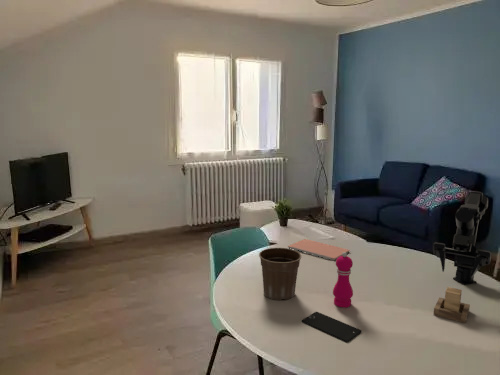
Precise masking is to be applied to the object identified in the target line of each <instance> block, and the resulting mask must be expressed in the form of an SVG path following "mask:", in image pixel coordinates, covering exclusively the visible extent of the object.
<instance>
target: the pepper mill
mask: <svg viewBox="0 0 500 375" xmlns="http://www.w3.org/2000/svg"><path fill="white" fill-rule="evenodd" d="M335 266H336V267H337V268H336V273H337V280H336V283H335V285H334V287H333V289H332V294H333V296H334V298H333V304H334V305H335V306H337V307H338V308H349V307H351V306H352V298H353V296H354V291H353V287H352V285H351V281H350V275H351V274H352V272H351V271H352V270H351V268H353V260H352V258H351V257H349V256H348V253H346V252H343V253H342V256H340V257H338V258H337V259H336V261H335Z"/></svg>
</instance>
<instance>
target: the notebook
mask: <svg viewBox="0 0 500 375" xmlns="http://www.w3.org/2000/svg"><path fill="white" fill-rule="evenodd" d="M287 248H291V249H294V250H296V251H297V252H299V251H302V252H303V253H302V252H301V253H302V254H307V253H308V254H313V255H312V256H313V257H315V256H316V257H318V256H319V257H320V259H323V258H324V260H327V261H332V260H334V261H335V260H337V258H338V257H340V256H342V253H343V252H346V253H347V254H348V253H349V252H350V249H349V248H344V247H339V246H335V245H331V244H327V243H323V242H318V241H315V240H312V239H306V238H303V239H301V240H299V241H297V242H294V243H292V244H289V245H287ZM298 250H299V251H298ZM304 252H306V253H304ZM308 254H307V255H308ZM319 257H318V258H319ZM321 257H323V258H321ZM325 258H326V259H325ZM329 259H330V260H329Z"/></svg>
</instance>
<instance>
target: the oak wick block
mask: <svg viewBox="0 0 500 375" xmlns="http://www.w3.org/2000/svg"><path fill="white" fill-rule="evenodd" d="M462 291H463V290H462V289H459V288H454V287H450V286H447V288H446V289H445V296H444V299H445V303H444V307H443V309H447V310H451V311H455V312H459V313H461V311H460V302H461V300H462V299H461V298H462ZM461 303H462V302H461Z"/></svg>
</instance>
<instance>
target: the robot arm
mask: <svg viewBox="0 0 500 375" xmlns="http://www.w3.org/2000/svg"><path fill="white" fill-rule="evenodd" d="M488 207H489V198H488V196H486V195H484V194H483V192H481V191H475V190H474V191H473V190H472V191H469V192H468V194H466V195H465V199H464V204H462V205H460V207H459V208H457V210H456V213H455V216H454V217H455V223H456V224H455V225H456V227H457V228H456V233H455V234H454V235H453V240H452V247H447V246H446V243H443V242H437V241H435V242H434V243H433V244H432V253H433V255H434V256H436V258H439V261H440V263H441V264H440V265H441V271H442V273H443V272H445V267H446V253H447V254H450V255H451V254H452V255H454V259H453V260H454V261H453V267H456V270H455V276H454V277H452V279H453V280H455V281H457V282H458V283H461V284H463V285H471V284H477V280H474V278H475V275H476V273H477V272H478V271H479V270H480V269H481V267H485V266H486V265H487V266H488V265H491V259H492V258H491V257H492V256H491V255H492V253H491V252H490V251H489V250H483V249H478V250H477V247H476V246H475V245H476V240H477V235H478V234H477V233H478V227H479V222H480V221H481V219H482V218H483V217H482V216H484V215H485V213H486V210H487V209H488Z"/></svg>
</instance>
